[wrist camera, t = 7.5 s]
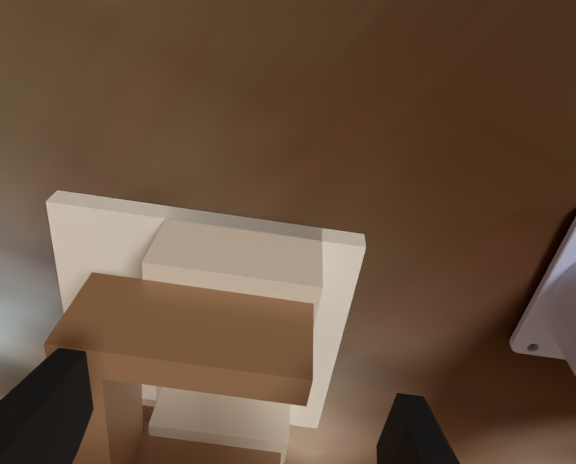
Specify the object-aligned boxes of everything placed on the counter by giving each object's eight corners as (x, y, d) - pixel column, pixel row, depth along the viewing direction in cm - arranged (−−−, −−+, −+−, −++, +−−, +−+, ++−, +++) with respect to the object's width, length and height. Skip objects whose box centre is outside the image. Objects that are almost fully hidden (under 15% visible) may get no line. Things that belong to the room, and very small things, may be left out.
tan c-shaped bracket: (313, 303, 17) (312, 380, 14) (277, 467, 23) (271, 547, 20) (91, 272, 17) (44, 343, 14) (110, 445, 22) (79, 523, 19)
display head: (364, 234, 20) (373, 294, 17) (317, 412, 27) (317, 482, 23) (57, 190, 20) (3, 242, 16) (85, 381, 26) (50, 448, 23)
